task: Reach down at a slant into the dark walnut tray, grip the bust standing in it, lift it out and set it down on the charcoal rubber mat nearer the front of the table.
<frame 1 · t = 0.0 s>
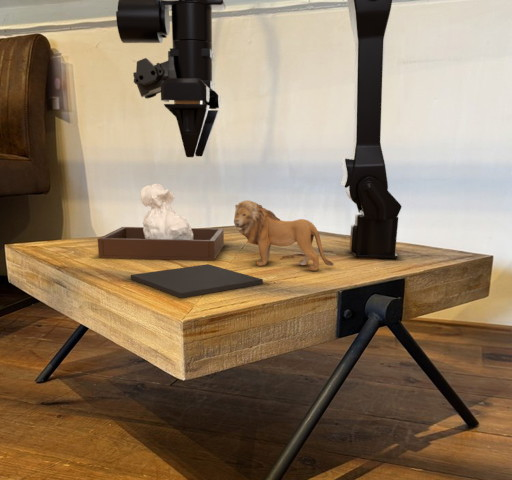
hand: (194, 156, 88), 15 cm above the table, tool pointing down, fingers open, 9 cm apart
walnut tray: (165, 251, 93), on the table
bust: (165, 250, 92), resting on walnut tray
charcoal mat: (196, 281, 72), on the table
lion figurine: (278, 267, 82), on the table
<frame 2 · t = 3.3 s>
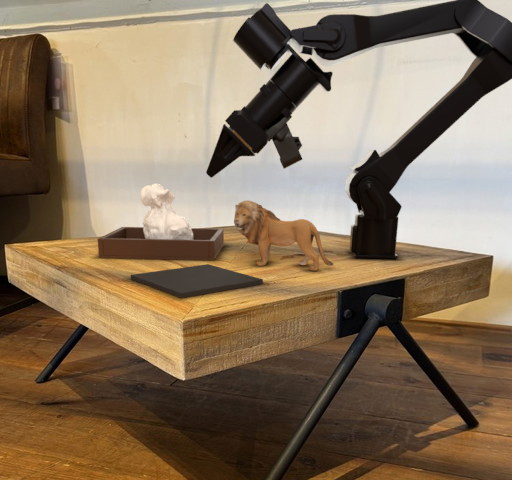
hand: (211, 173, 88), 12 cm above the table, tool tilted 45°, fingers open, 9 cm apart
nothing on the table moved.
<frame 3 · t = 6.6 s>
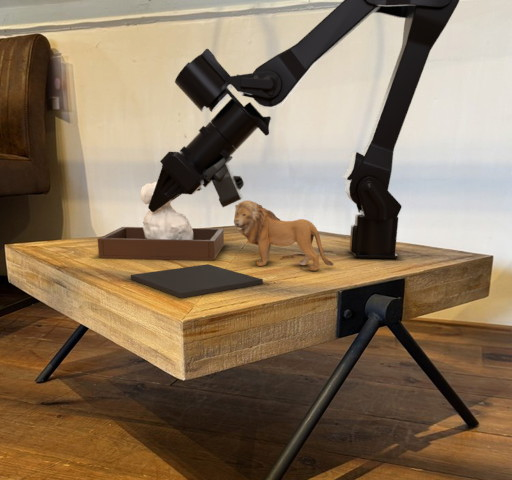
hand: (153, 208, 90), 7 cm above the table, tool tilted 45°, fingers closed on bust, 4 cm apart
bust: (165, 248, 92), resting on walnut tray, touching gripper
everything else where it was.
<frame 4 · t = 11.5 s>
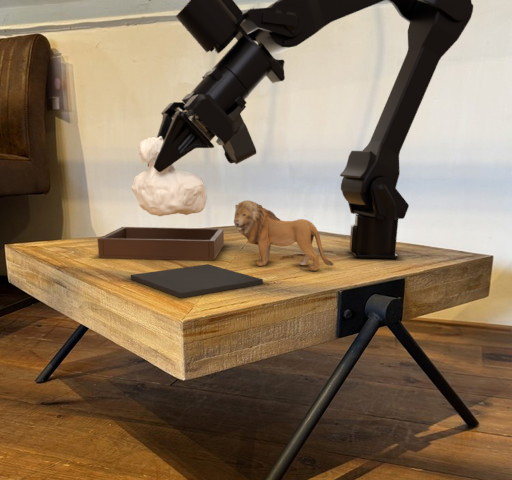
hand: (153, 169, 76), 13 cm above the table, tool tilted 45°, fingers closed on bust, 4 cm apart
bust: (166, 216, 79), point 7 cm above the table, touching gripper
everything else where it was.
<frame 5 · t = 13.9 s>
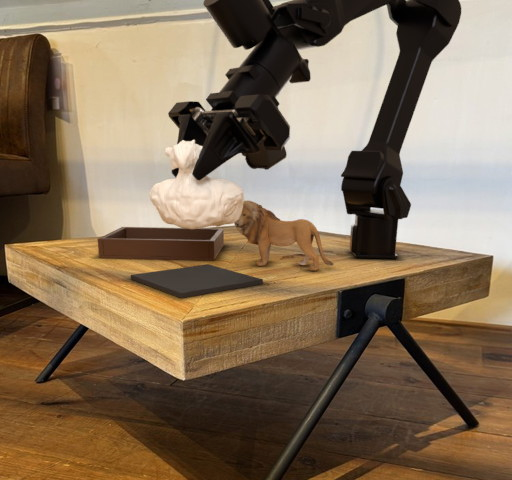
hand: (184, 176, 67), 13 cm above the table, tool tilted 45°, fingers closed on bust, 4 cm apart
bust: (196, 229, 71), point 6 cm above the table, touching gripper
everything else where it was.
when the fingers open (7 cm above the table, at t = 16.3 s): bust stays where it is, resting on charcoal mat.
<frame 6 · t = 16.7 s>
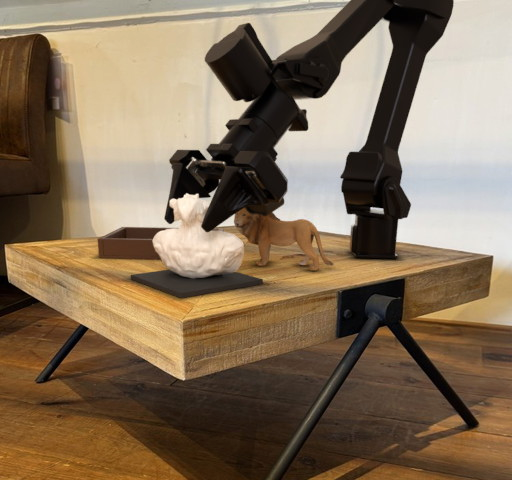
hand: (184, 225, 69), 7 cm above the table, tool tilted 45°, fingers open, 8 cm apart
bust: (196, 277, 72), resting on charcoal mat
everything else where it was.
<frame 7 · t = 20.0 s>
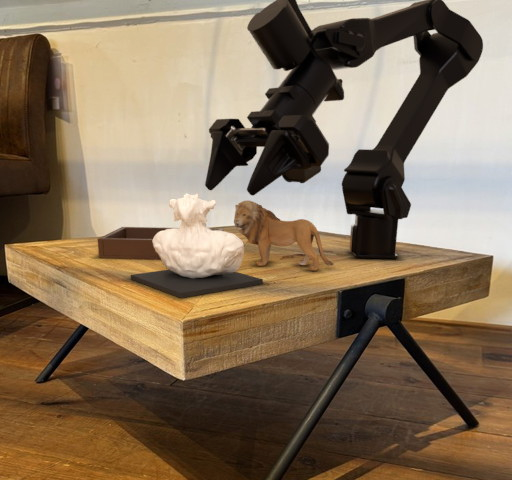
hand: (227, 190, 71), 11 cm above the table, tool tilted 45°, fingers open, 9 cm apart
nothing on the table moved.
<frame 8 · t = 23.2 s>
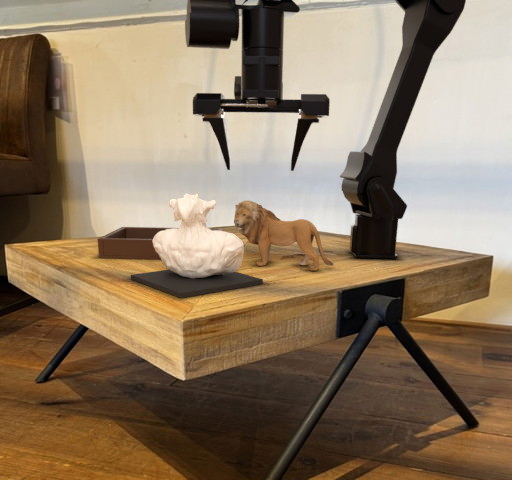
hand: (260, 170, 83), 13 cm above the table, tool pointing down, fingers open, 9 cm apart
nothing on the table moved.
at the end: bust inside the target area on the charcoal mat (0.4 cm from its centre), point 0.4 cm above the charcoal mat's base; bust touching charcoal mat; bust tilted 0° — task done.
